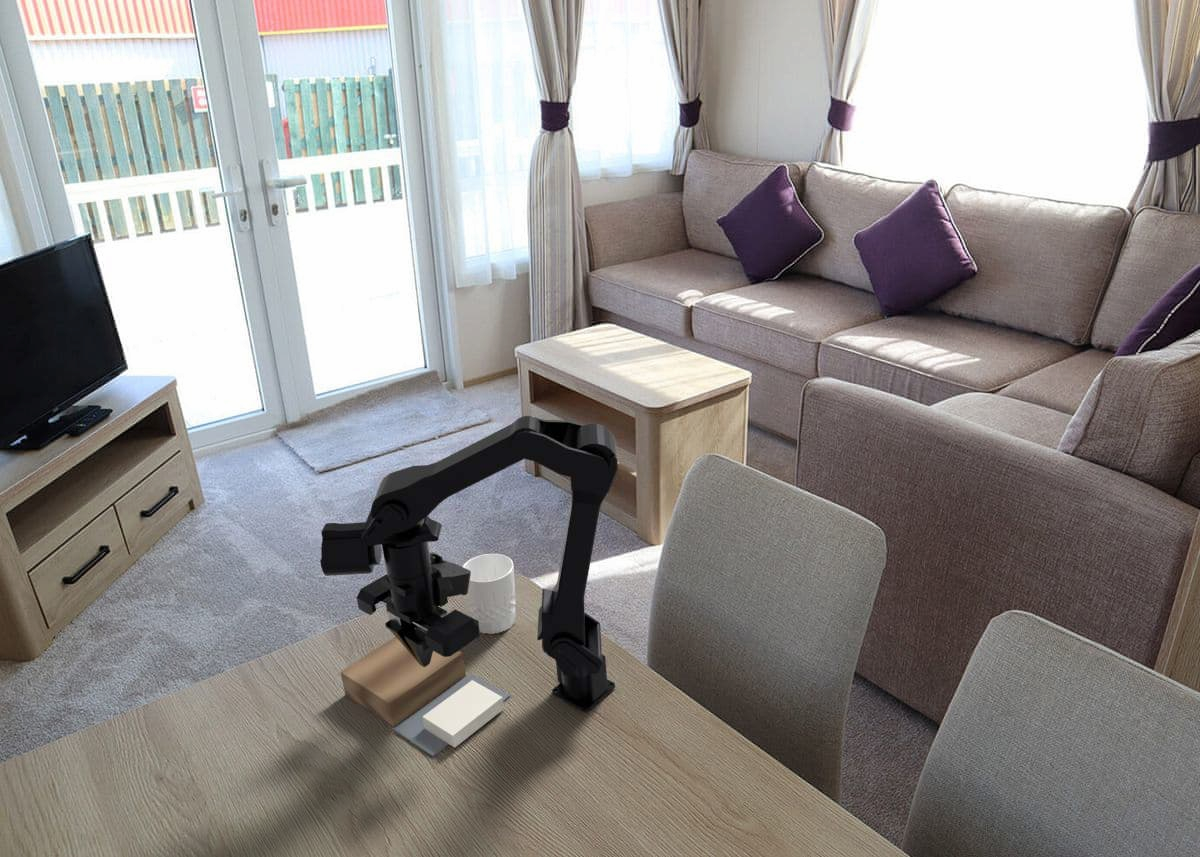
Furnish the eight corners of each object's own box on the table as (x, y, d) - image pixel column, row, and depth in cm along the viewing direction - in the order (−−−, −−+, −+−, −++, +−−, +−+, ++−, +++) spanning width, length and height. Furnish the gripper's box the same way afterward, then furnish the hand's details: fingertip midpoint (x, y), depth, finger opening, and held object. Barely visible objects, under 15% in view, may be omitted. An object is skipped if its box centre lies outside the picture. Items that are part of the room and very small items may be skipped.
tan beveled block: (465, 675, 133) (462, 652, 131) (394, 726, 124) (389, 703, 122) (416, 647, 139) (412, 625, 138) (345, 694, 131) (340, 671, 129)
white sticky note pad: (472, 680, 128) (473, 691, 129) (422, 716, 122) (424, 728, 123) (502, 697, 125) (504, 708, 125) (452, 735, 118) (454, 747, 119)
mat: (510, 697, 128) (509, 695, 128) (432, 756, 118) (432, 755, 118) (470, 674, 133) (470, 673, 133) (393, 730, 123) (393, 728, 123)
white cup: (501, 600, 149) (494, 547, 145) (529, 621, 144) (523, 567, 140) (459, 621, 145) (451, 567, 141) (487, 643, 139) (479, 588, 135)
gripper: (504, 562, 119) (515, 659, 125) (411, 520, 130) (426, 612, 137) (438, 603, 111) (454, 705, 118) (345, 555, 123) (364, 651, 129)
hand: (425, 664), depth 126 cm, fingers closed
